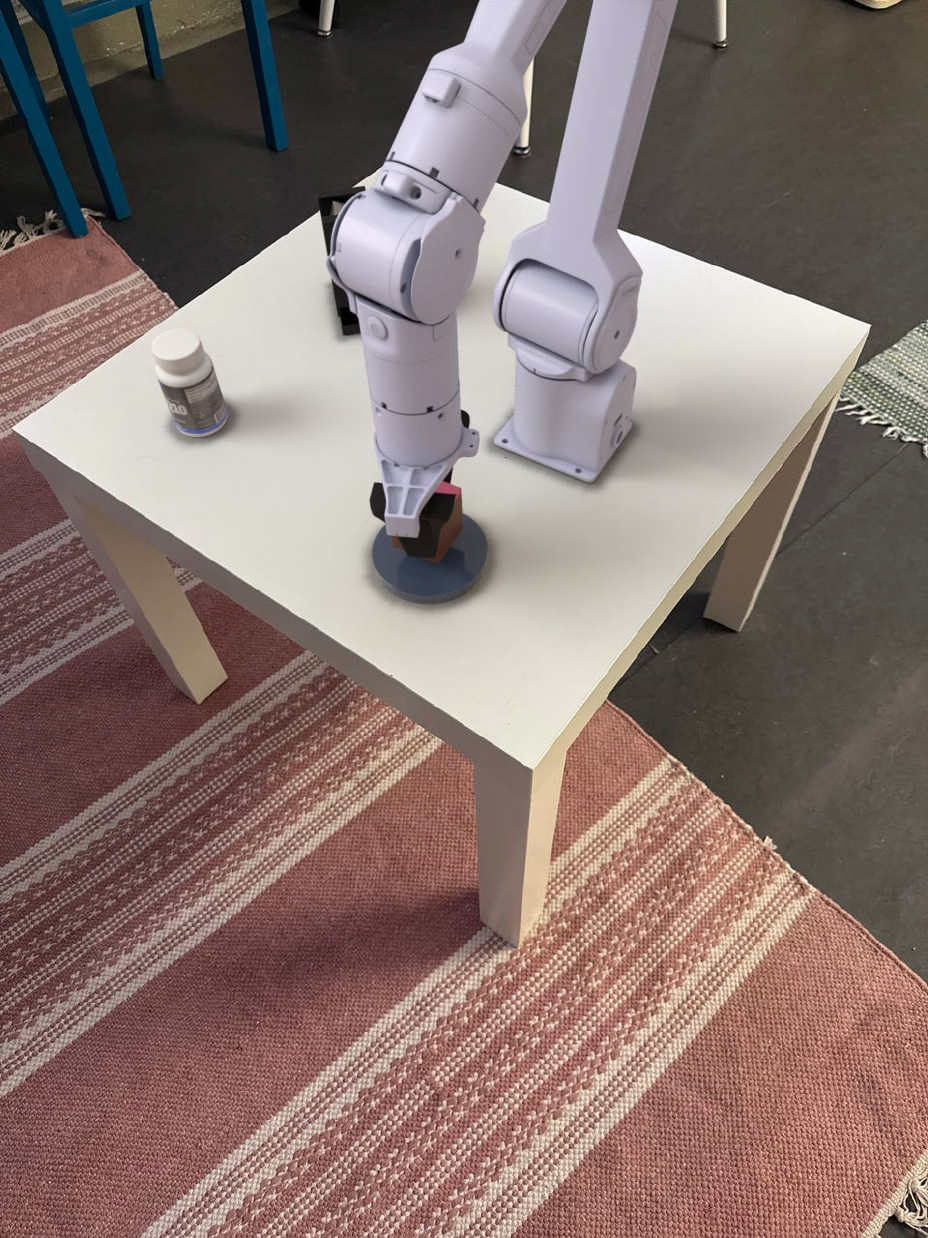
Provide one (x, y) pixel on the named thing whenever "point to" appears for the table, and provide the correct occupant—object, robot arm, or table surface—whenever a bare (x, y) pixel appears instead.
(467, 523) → the plate
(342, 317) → the bracket
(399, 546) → the cake slice
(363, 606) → the table surface
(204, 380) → the pill bottle
